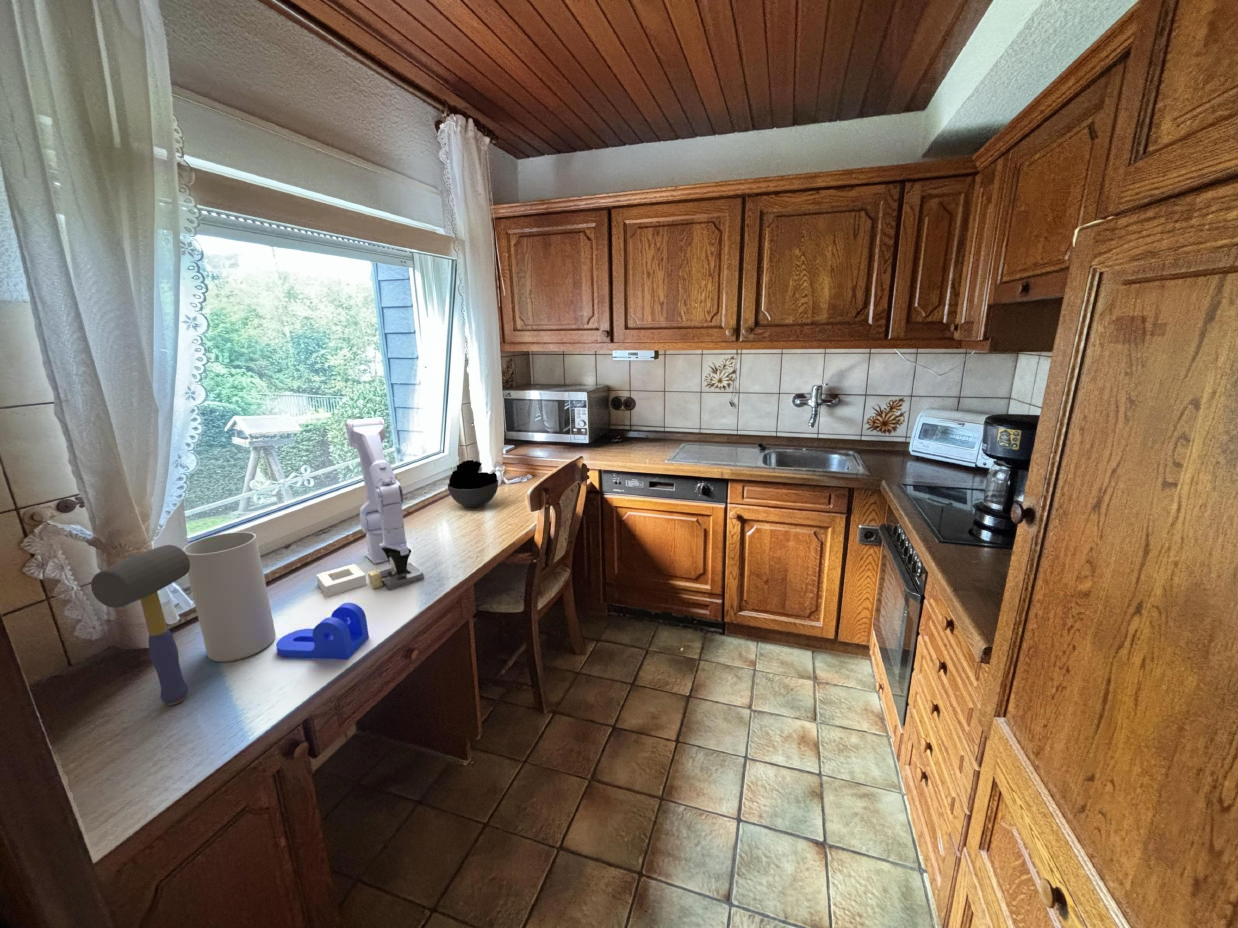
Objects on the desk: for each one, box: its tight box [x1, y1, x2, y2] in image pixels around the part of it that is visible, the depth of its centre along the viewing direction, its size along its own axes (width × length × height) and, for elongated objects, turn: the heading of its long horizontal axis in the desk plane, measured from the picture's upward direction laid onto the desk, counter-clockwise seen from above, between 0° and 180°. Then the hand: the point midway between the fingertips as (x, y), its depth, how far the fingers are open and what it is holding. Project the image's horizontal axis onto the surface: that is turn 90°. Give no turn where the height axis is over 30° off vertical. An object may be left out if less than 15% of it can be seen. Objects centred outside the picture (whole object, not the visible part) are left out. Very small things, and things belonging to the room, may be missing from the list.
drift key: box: [367, 568, 389, 590], centre depth 142 cm, size 3×5×4 cm, turn 133°
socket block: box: [379, 562, 425, 591], centre depth 145 cm, size 10×10×2 cm
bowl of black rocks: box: [447, 459, 499, 508], centre depth 206 cm, size 20×20×19 cm
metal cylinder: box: [389, 557, 407, 579], centre depth 145 cm, size 4×4×7 cm
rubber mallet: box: [90, 544, 190, 706], centre depth 93 cm, size 12×8×30 cm, turn 175°
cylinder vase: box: [182, 531, 276, 663], centre depth 111 cm, size 12×12×25 cm
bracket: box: [275, 602, 370, 661], centre depth 112 cm, size 18×8×9 cm, turn 85°
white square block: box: [316, 563, 368, 598], centre depth 142 cm, size 10×10×3 cm
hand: (398, 570), depth 145 cm, fingers closed on metal cylinder, 4 cm apart
